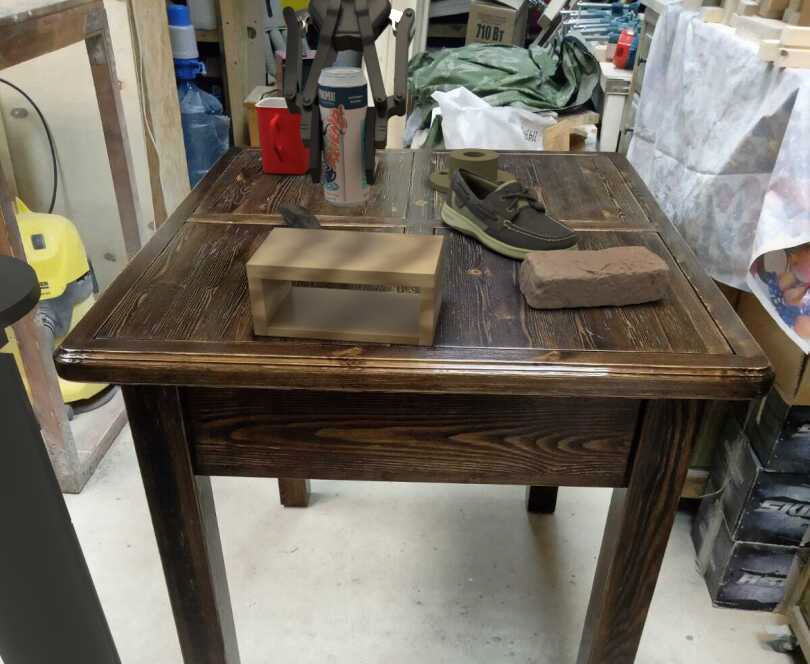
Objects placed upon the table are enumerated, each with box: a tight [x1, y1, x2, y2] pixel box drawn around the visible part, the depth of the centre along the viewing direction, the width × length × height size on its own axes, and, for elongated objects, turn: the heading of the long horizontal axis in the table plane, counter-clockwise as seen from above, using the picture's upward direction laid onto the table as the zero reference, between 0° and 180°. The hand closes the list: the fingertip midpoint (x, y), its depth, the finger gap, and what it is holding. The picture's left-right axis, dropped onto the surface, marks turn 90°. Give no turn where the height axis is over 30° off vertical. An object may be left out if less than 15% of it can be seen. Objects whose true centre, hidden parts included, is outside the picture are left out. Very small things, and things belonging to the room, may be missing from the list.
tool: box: [276, 202, 326, 230], centre depth 108 cm, size 21×8×3 cm, turn 29°
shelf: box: [245, 227, 445, 347], centre depth 86 cm, size 20×12×8 cm, turn 83°
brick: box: [518, 245, 671, 310], centre depth 93 cm, size 17×8×5 cm, turn 98°
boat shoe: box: [439, 167, 579, 261], centre depth 107 cm, size 10×25×8 cm, turn 45°
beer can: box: [318, 66, 371, 208], centre depth 77 cm, size 5×5×12 cm
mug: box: [254, 96, 310, 176], centre depth 134 cm, size 12×8×11 cm
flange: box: [428, 147, 517, 194], centre depth 131 cm, size 5×15×15 cm
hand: (342, 176), depth 76 cm, fingers closed on beer can, 5 cm apart
